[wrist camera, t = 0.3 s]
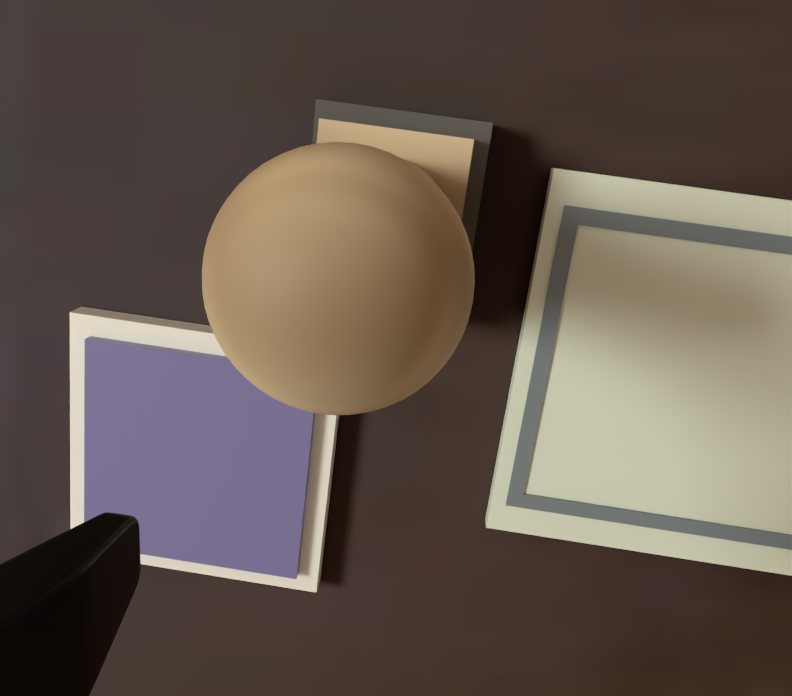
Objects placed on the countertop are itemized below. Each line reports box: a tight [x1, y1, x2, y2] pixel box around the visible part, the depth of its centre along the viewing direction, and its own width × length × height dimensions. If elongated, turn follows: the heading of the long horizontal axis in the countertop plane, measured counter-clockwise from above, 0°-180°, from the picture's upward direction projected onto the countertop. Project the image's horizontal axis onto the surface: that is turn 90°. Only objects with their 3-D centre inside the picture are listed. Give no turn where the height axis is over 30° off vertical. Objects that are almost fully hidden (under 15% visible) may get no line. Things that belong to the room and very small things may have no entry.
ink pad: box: [70, 307, 339, 592], centre depth 24 cm, size 9×9×1 cm
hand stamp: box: [202, 99, 493, 415], centre depth 16 cm, size 6×5×13 cm
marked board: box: [485, 168, 792, 576], centre depth 23 cm, size 12×11×1 cm
